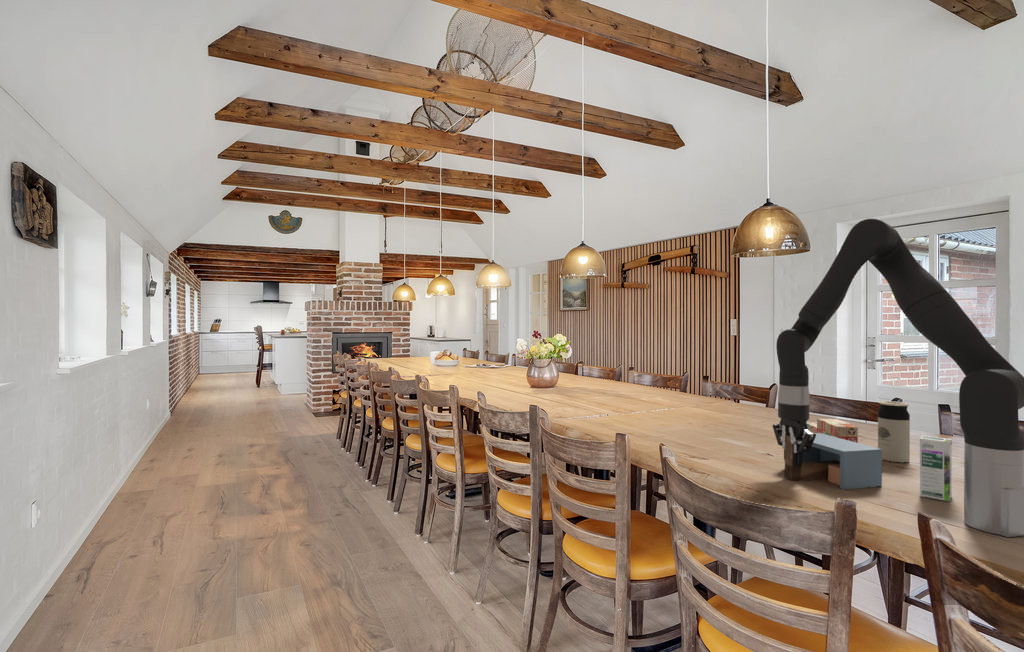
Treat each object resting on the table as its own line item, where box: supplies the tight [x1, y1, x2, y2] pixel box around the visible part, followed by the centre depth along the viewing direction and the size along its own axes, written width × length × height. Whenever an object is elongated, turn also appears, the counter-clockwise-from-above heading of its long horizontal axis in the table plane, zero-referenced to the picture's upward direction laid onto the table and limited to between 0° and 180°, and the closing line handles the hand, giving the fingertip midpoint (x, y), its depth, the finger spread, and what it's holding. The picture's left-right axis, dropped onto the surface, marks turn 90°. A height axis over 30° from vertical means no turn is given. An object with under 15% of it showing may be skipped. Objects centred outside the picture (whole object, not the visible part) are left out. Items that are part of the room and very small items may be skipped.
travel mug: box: [877, 400, 911, 464], centre depth 158 cm, size 8×8×18 cm
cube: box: [827, 464, 840, 486], centre depth 135 cm, size 4×4×4 cm
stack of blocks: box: [806, 418, 859, 443], centre depth 161 cm, size 21×6×12 cm, turn 172°
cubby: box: [803, 433, 883, 491], centre depth 140 cm, size 20×12×10 cm, turn 12°
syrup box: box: [919, 435, 953, 503], centre depth 124 cm, size 6×6×14 cm
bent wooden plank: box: [784, 435, 840, 482], centre depth 137 cm, size 8×17×12 cm, turn 102°
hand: (792, 464), depth 138 cm, fingers closed on bent wooden plank, 2 cm apart
